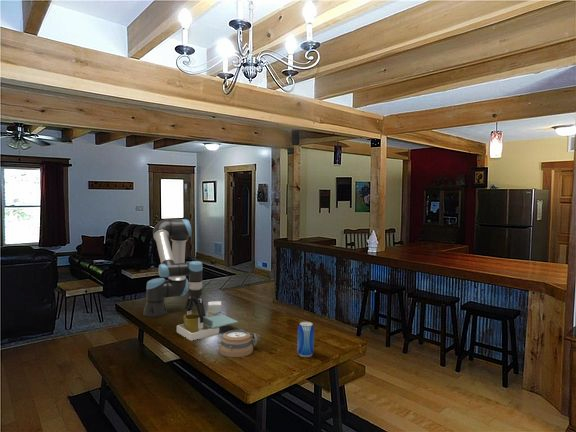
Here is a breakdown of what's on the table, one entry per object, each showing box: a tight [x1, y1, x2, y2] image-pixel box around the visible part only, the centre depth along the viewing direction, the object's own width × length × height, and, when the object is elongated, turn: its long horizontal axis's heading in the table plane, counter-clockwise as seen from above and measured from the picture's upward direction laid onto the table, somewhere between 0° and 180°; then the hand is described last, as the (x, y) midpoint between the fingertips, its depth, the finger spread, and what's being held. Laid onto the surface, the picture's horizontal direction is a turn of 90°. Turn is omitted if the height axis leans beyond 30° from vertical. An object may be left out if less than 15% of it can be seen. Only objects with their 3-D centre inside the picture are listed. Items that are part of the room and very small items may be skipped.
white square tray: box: [176, 323, 220, 342], centre depth 224 cm, size 18×18×4 cm
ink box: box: [207, 300, 222, 317], centre depth 247 cm, size 9×8×12 cm
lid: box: [203, 313, 239, 328], centre depth 232 cm, size 18×17×4 cm
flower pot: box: [183, 313, 199, 333], centre depth 223 cm, size 9×9×9 cm
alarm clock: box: [217, 328, 261, 358], centre depth 202 cm, size 17×9×23 cm
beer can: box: [296, 321, 315, 358], centre depth 196 cm, size 8×8×16 cm
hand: (194, 325), depth 222 cm, fingers open, 13 cm apart
